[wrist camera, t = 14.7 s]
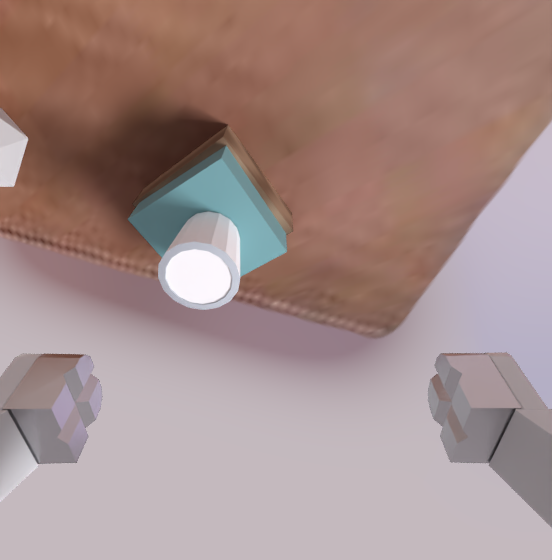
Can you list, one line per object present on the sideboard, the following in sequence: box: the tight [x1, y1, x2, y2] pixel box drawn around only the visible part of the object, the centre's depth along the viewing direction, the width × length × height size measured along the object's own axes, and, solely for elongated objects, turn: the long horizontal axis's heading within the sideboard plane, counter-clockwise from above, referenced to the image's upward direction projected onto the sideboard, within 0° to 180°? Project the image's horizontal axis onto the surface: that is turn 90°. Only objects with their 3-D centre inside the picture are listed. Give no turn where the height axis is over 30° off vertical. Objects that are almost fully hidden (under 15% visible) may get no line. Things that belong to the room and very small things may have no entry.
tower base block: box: [133, 125, 293, 235], centre depth 45 cm, size 12×12×5 cm
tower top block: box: [128, 146, 287, 277], centre depth 41 cm, size 11×11×4 cm
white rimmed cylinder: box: [158, 211, 240, 310], centre depth 37 cm, size 7×7×7 cm
